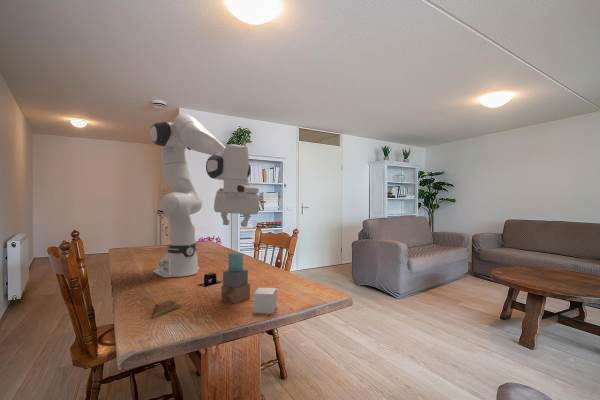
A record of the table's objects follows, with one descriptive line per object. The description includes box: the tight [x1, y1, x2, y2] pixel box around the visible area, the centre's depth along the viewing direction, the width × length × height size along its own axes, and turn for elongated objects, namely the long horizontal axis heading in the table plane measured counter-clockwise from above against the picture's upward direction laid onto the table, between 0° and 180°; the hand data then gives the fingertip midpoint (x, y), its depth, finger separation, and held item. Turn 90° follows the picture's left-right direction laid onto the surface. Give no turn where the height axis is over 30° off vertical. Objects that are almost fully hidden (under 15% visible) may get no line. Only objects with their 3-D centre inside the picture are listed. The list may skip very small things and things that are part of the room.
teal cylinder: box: [227, 251, 244, 272], centre depth 97 cm, size 5×5×6 cm
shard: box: [151, 299, 183, 319], centre depth 87 cm, size 11×8×2 cm
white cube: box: [253, 287, 278, 315], centre depth 87 cm, size 6×6×6 cm
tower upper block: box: [222, 268, 249, 288], centre depth 97 cm, size 6×6×5 cm
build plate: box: [197, 272, 223, 288], centre depth 116 cm, size 12×7×5 cm, turn 145°
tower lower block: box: [220, 283, 251, 304], centre depth 97 cm, size 7×7×5 cm
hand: (234, 225), depth 101 cm, fingers open, 8 cm apart
